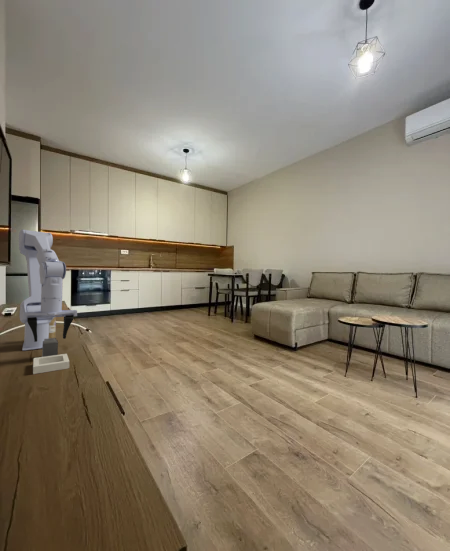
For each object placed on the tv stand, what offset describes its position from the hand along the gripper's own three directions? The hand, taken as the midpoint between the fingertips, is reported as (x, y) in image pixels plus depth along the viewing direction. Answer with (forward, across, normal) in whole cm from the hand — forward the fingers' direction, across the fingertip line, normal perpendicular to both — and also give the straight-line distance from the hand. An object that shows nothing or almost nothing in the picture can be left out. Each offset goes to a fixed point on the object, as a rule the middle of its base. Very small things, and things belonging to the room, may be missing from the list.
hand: (50, 339), depth 83 cm
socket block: (+6, 0, -9) cm, 11 cm away
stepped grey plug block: (+6, 0, 0) cm, 6 cm away
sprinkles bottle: (+6, 0, +24) cm, 25 cm away
